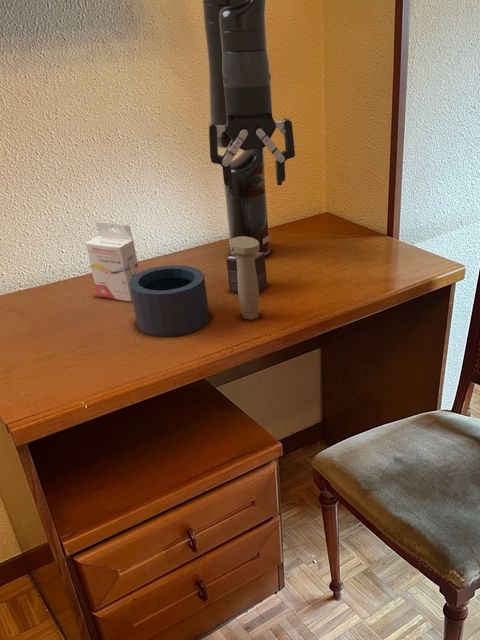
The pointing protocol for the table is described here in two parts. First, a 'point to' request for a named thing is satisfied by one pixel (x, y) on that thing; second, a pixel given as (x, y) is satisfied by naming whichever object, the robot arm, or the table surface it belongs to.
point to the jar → (169, 300)
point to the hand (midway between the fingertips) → (254, 186)
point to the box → (259, 266)
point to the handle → (246, 274)
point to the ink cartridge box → (113, 261)
